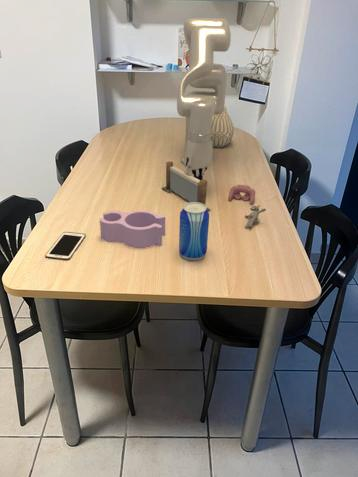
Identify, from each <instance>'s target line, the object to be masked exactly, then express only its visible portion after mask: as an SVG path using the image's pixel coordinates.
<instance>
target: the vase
mask: <svg viewBox="0 0 358 477" xmlns="http://www.w3.org/2000/svg"><path fill="white" fill-rule="evenodd" d="M211 132H213V136H211V140H212V146H213V148H224V147H226V146H228V144H230V142H231V141H232V139H233V136H234V132H235V128H234V124H233V120H232V118H231V117H230V115H229V113H228V110H227V107H226V106H225V105H224V110H223V112H222V113H221V114H219V115H213V116H212V127H211Z"/></svg>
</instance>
